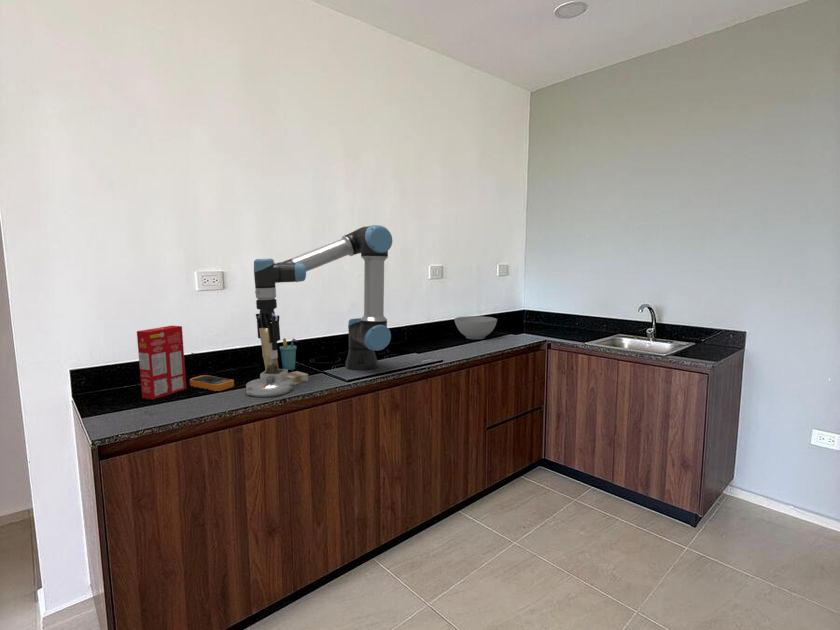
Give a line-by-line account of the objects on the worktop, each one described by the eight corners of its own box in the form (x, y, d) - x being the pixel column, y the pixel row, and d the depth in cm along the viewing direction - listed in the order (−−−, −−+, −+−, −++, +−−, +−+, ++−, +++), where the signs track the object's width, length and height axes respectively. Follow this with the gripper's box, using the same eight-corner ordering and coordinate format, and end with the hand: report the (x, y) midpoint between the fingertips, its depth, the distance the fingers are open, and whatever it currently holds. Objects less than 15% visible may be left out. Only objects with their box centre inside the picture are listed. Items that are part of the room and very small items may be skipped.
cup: (306, 370, 209) (304, 338, 207) (291, 373, 203) (289, 340, 201) (289, 365, 218) (287, 334, 216) (274, 368, 213) (273, 336, 211)
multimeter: (206, 381, 192) (205, 373, 192) (235, 387, 184) (235, 379, 183) (187, 387, 185) (186, 378, 184) (217, 393, 176) (216, 384, 176)
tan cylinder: (272, 369, 186) (265, 325, 182) (281, 369, 184) (275, 326, 180) (263, 373, 181) (256, 328, 178) (272, 373, 179) (266, 329, 176)
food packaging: (176, 387, 183) (171, 325, 179) (186, 388, 181) (181, 326, 178) (142, 398, 169) (136, 331, 166) (152, 399, 167) (147, 332, 164)
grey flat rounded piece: (257, 383, 187) (257, 368, 187) (299, 383, 187) (298, 369, 186) (239, 396, 169) (238, 380, 169) (284, 397, 169) (283, 381, 168)
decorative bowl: (474, 332, 310) (474, 315, 309) (505, 338, 290) (505, 319, 289) (445, 337, 293) (445, 318, 292) (476, 343, 273) (476, 323, 271)
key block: (297, 377, 196) (297, 371, 196) (308, 381, 191) (308, 374, 191) (280, 381, 191) (280, 374, 190) (291, 385, 185) (291, 378, 185)
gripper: (245, 298, 181) (249, 356, 184) (269, 300, 169) (274, 362, 173) (262, 296, 187) (266, 352, 190) (287, 298, 175) (291, 358, 178)
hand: (270, 357), depth 181 cm, fingers closed on tan cylinder, 5 cm apart
